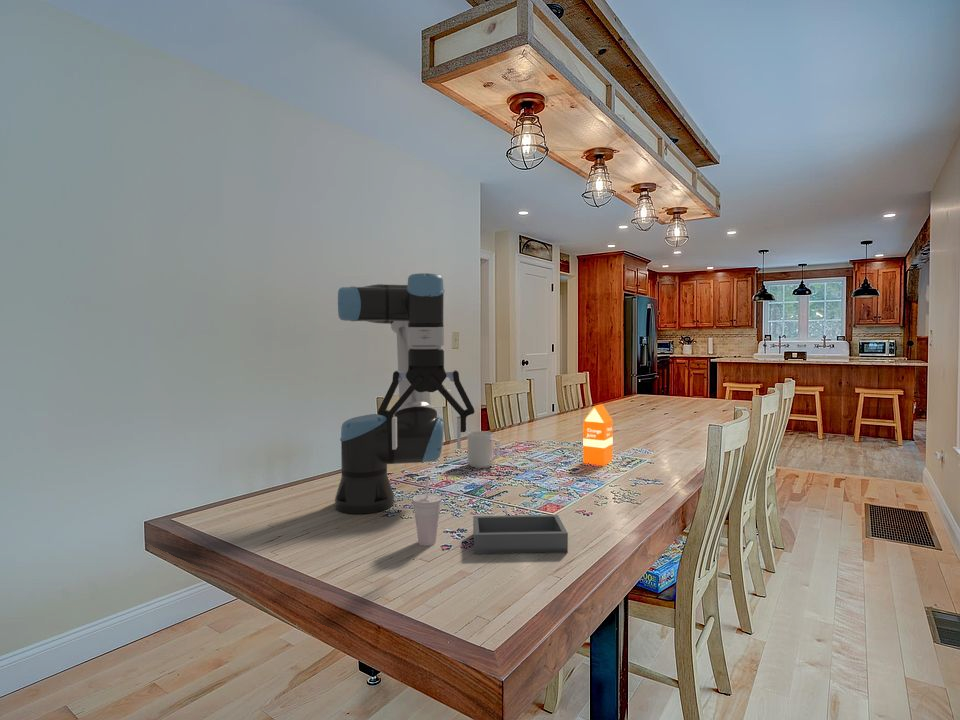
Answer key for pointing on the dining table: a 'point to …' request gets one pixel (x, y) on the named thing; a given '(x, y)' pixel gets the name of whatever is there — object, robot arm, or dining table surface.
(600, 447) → the orange juice
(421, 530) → the smoothie
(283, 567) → the dining table surface
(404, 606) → the dining table surface
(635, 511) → the dining table surface
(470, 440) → the mug
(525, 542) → the tray
